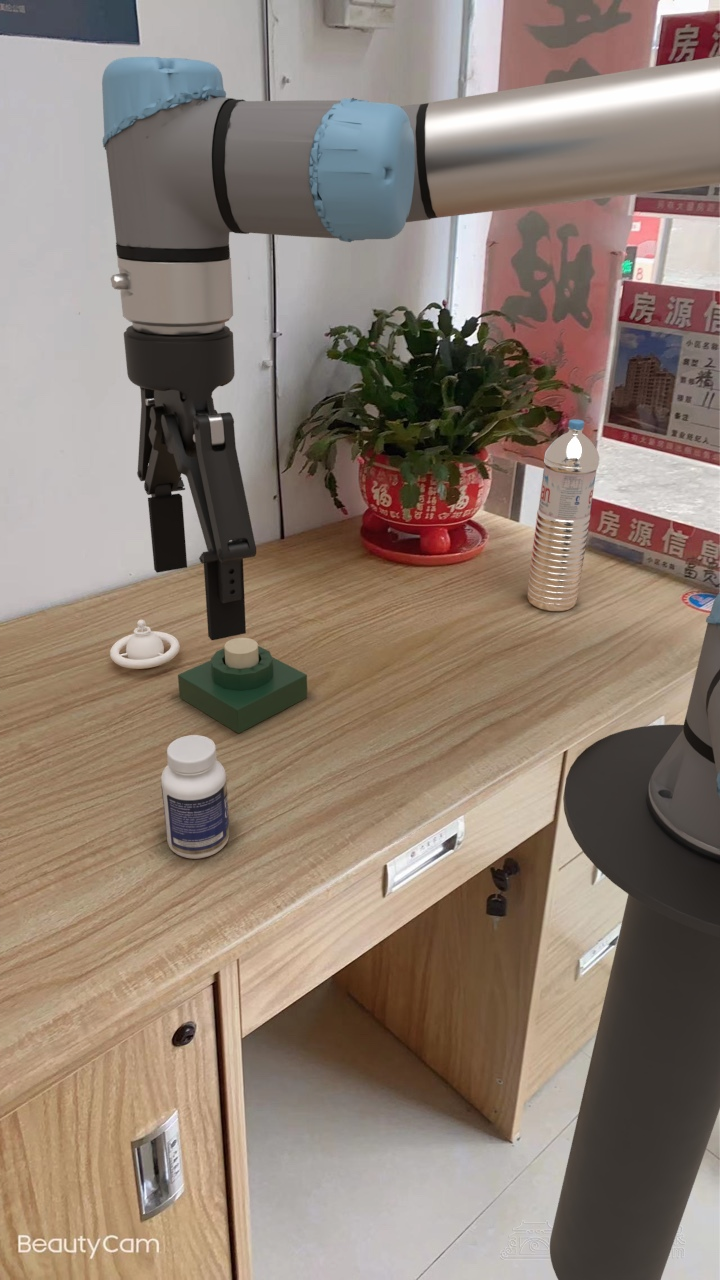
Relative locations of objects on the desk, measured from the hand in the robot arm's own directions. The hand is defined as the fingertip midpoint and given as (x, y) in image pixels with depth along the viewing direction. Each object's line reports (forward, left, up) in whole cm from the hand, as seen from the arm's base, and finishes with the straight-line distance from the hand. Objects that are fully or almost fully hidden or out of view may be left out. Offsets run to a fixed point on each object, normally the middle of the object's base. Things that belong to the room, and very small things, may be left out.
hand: (196, 599), depth 71 cm
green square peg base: (+12, -14, -21) cm, 28 cm away
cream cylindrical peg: (+12, -14, -16) cm, 25 cm away
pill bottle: (-3, +4, -21) cm, 22 cm away
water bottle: (+1, -60, -21) cm, 64 cm away
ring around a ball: (+26, -11, -21) cm, 35 cm away
